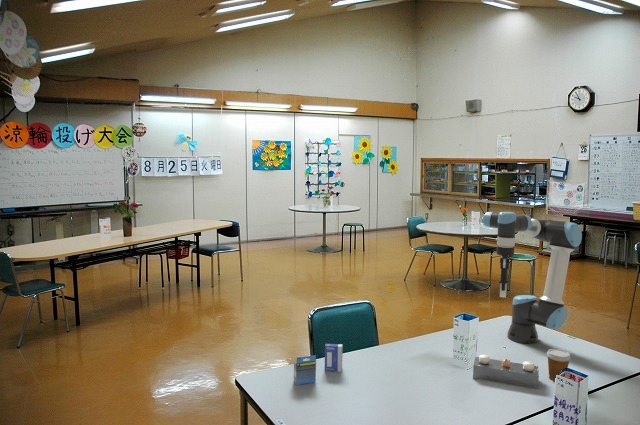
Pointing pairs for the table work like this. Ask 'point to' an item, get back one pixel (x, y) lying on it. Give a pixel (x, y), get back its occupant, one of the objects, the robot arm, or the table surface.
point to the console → (506, 373)
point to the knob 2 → (528, 366)
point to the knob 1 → (484, 359)
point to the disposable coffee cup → (557, 361)
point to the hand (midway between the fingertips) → (502, 296)
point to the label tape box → (305, 370)
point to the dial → (505, 363)
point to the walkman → (333, 357)
